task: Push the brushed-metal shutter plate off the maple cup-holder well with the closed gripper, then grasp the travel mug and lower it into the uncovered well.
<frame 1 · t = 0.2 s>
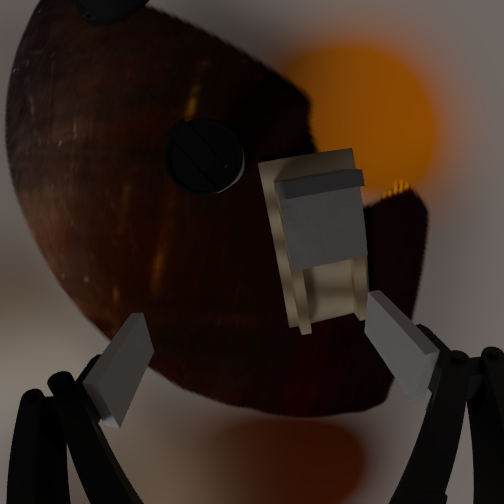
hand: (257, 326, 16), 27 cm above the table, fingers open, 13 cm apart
shutter: (327, 221, 36), point 6 cm above the table, slide at 0.0 cm
holder: (320, 240, 43), on the table
travel mug: (222, 164, 40), on the table
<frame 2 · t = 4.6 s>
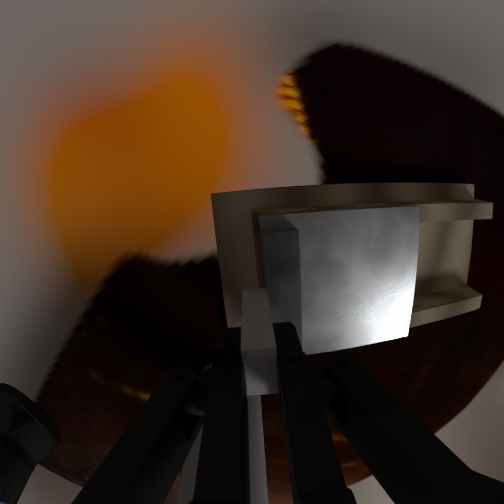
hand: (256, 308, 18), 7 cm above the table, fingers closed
shutter: (353, 292, 19), point 6 cm above the table, slide at 0.4 cm, touching gripper
holder: (365, 260, 25), on the table
travel mug: (228, 380, 28), on the table
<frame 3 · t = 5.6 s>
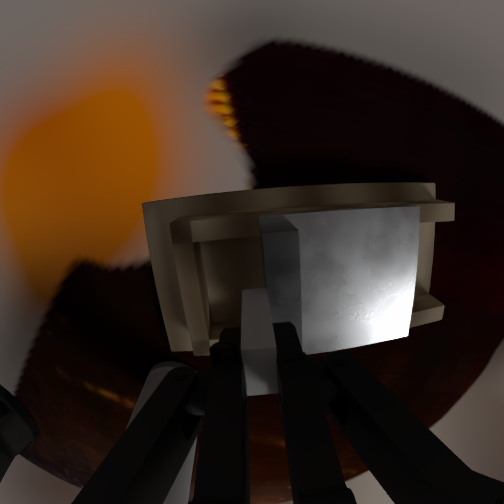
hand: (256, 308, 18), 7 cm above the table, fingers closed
shutter: (353, 292, 19), point 6 cm above the table, slide at 6.2 cm, touching gripper
holder: (304, 267, 25), on the table
travel mug: (175, 381, 28), on the table
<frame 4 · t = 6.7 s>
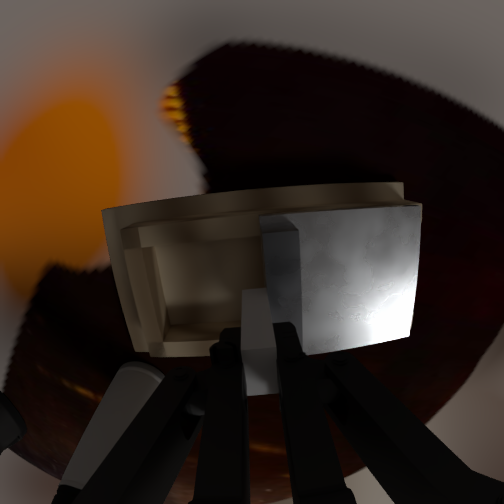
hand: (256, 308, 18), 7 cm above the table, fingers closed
shutter: (353, 292, 19), point 6 cm above the table, slide at 10.1 cm, touching gripper
holder: (260, 271, 25), on the table
travel mug: (143, 381, 28), on the table
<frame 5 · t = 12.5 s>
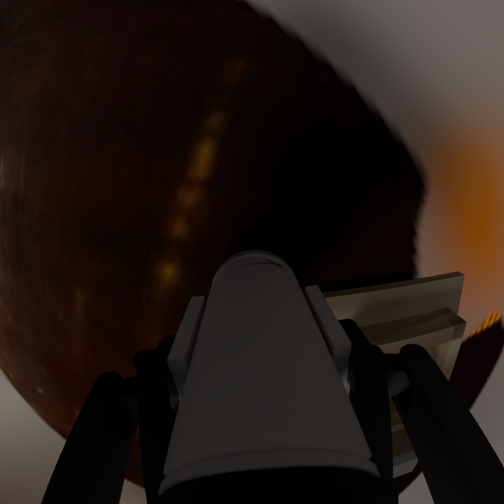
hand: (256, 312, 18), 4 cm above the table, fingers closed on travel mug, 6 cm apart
shutter: (387, 468, 21), point 6 cm above the table, slide at 10.2 cm
holder: (380, 395, 25), on the table
travel mug: (253, 286, 22), on the table, touching gripper
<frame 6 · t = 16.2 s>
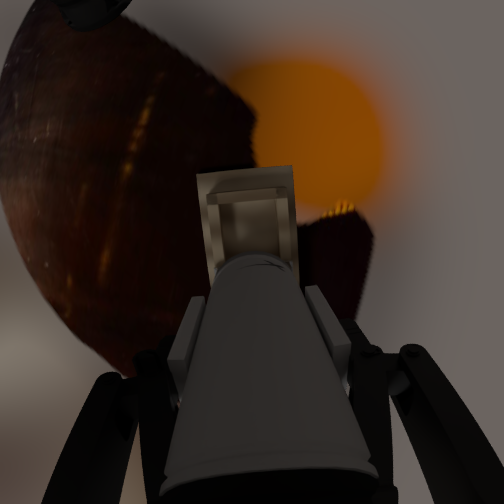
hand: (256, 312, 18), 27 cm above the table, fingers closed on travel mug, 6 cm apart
shutter: (257, 307, 41), point 6 cm above the table, slide at 10.2 cm
holder: (252, 253, 45), on the table
travel mug: (253, 287, 22), point 23 cm above the table, touching gripper
when the fingers open (6 cm above the table, at t = 20.2 s): travel mug drops 1 cm, resting on holder.
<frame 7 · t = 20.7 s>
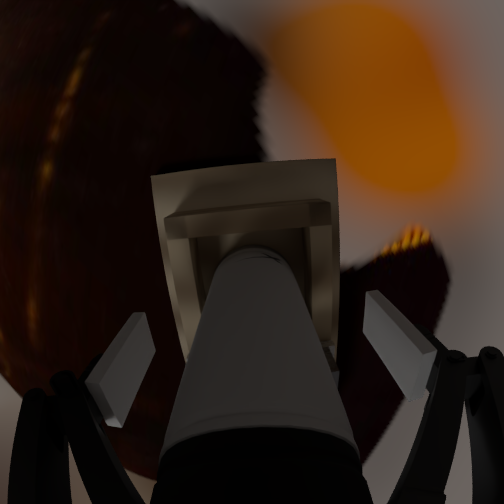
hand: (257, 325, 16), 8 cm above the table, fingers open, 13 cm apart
shutter: (266, 418, 20), point 6 cm above the table, slide at 10.2 cm
holder: (257, 318, 25), on the table
travel mug: (252, 279, 23), point 1 cm above the table, touching holder
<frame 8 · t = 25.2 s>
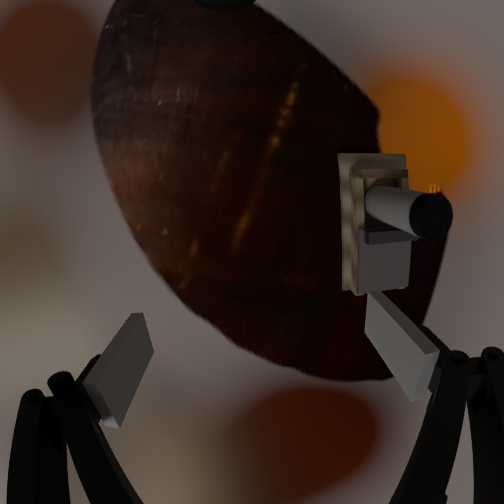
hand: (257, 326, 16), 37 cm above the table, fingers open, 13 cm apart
shutter: (388, 261, 47), point 6 cm above the table, slide at 10.2 cm
holder: (375, 221, 52), on the table
travel mug: (376, 200, 50), point 1 cm above the table, touching holder
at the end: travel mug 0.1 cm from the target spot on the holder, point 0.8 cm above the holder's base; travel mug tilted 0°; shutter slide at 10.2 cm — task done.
